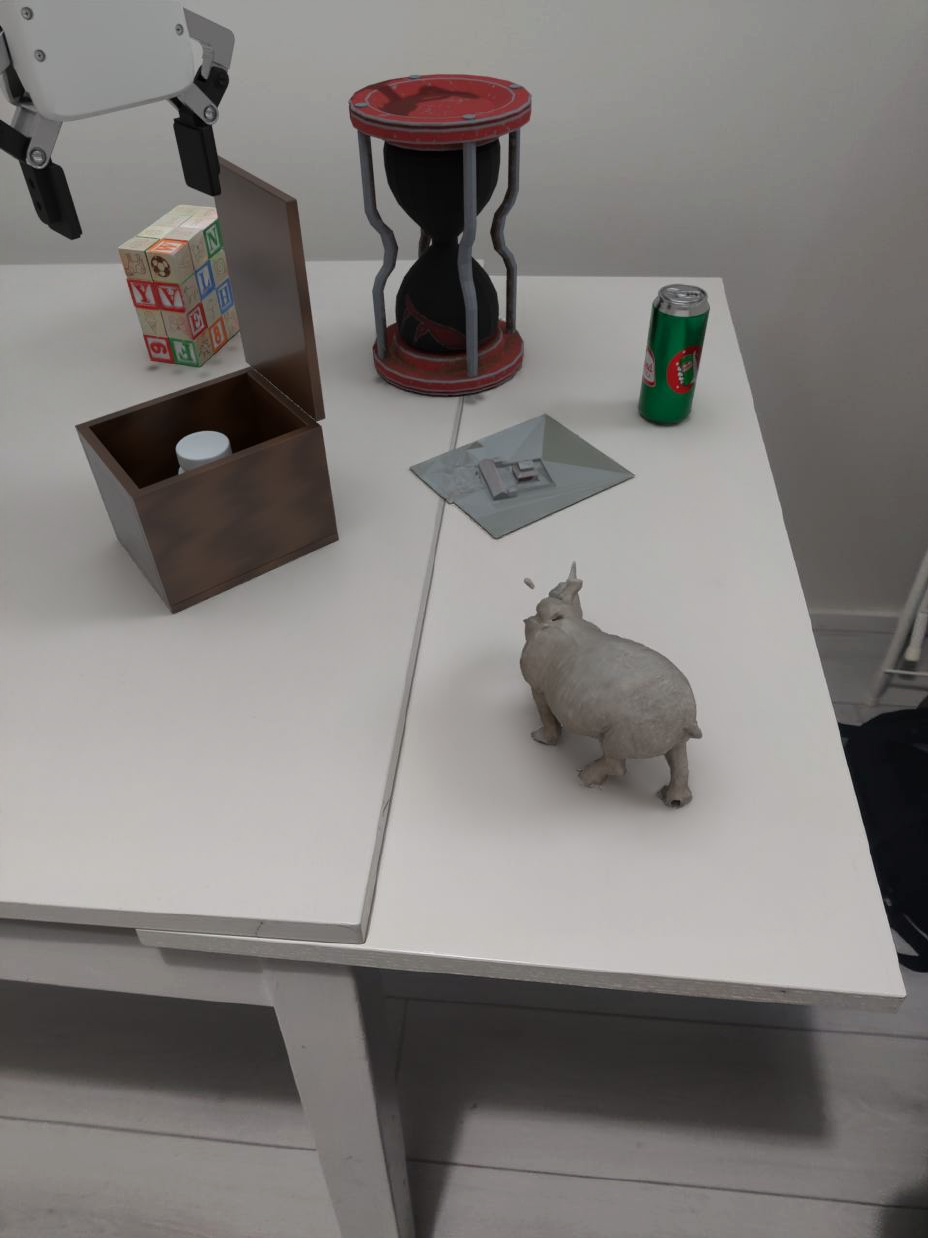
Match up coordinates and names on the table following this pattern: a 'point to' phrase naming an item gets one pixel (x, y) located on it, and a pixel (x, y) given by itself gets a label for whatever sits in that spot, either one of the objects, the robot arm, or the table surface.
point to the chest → (213, 485)
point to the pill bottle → (201, 449)
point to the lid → (270, 284)
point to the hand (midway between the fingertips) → (138, 210)
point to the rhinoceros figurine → (606, 692)
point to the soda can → (673, 353)
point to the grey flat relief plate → (521, 474)
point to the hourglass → (443, 226)
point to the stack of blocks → (181, 286)
